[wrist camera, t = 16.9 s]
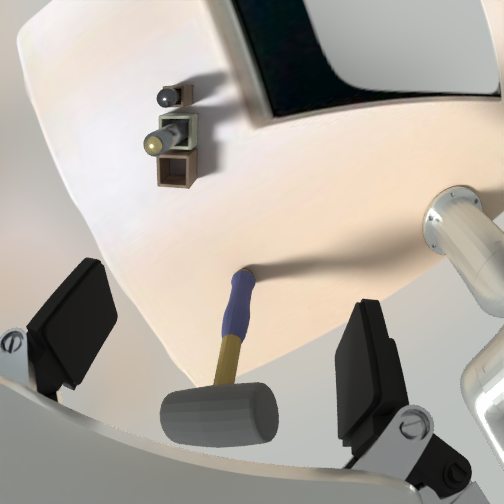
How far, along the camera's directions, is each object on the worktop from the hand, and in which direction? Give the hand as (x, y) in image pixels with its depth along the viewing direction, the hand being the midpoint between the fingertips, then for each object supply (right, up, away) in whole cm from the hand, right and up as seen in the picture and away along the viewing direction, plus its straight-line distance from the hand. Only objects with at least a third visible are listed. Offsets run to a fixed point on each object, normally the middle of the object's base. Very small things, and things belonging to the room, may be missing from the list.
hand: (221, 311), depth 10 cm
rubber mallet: (0, -2, +41) cm, 41 cm away
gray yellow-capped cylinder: (-9, +19, +28) cm, 35 cm away
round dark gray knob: (-8, +23, +25) cm, 35 cm away
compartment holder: (-9, +19, +28) cm, 35 cm away
